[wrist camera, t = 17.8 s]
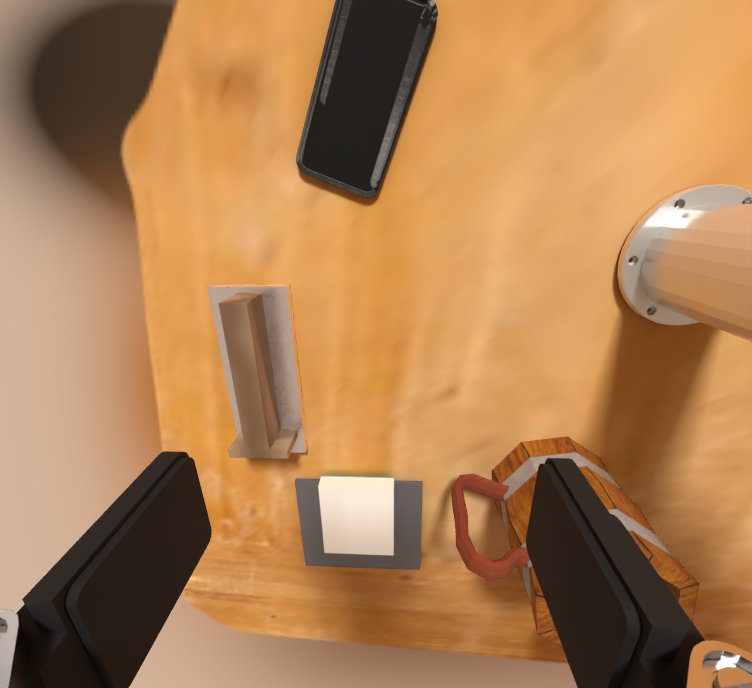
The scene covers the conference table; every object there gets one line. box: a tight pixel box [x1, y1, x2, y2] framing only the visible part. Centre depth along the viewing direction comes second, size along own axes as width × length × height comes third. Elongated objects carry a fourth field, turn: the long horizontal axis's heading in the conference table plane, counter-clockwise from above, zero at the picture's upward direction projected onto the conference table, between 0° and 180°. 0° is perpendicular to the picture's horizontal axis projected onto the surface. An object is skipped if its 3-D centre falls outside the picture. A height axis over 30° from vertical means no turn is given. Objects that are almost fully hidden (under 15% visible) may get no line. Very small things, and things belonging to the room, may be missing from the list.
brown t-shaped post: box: [218, 293, 298, 459], centre depth 37 cm, size 6×17×4 cm, turn 1°
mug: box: [452, 437, 699, 648], centre depth 37 cm, size 20×14×15 cm
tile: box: [318, 475, 394, 556], centre depth 46 cm, size 9×2×11 cm
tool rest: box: [208, 284, 308, 453], centre depth 40 cm, size 8×20×1 cm, turn 1°
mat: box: [295, 479, 422, 570], centre depth 48 cm, size 16×15×1 cm
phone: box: [296, 0, 438, 198], centre depth 30 cm, size 8×1×15 cm
